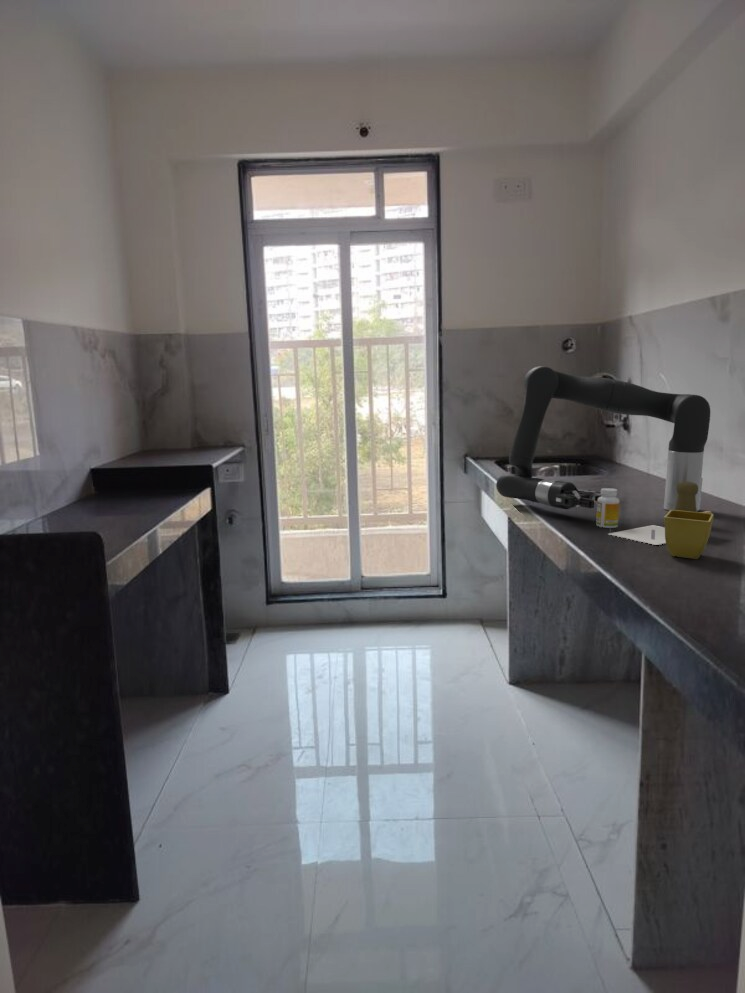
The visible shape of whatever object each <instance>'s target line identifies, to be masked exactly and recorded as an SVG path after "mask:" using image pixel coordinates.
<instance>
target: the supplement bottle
mask: <svg viewBox="0 0 745 993" xmlns="http://www.w3.org/2000/svg"><path fill="white" fill-rule="evenodd" d="M600 492H601V495H602V496H601V497H599V498H598V500H597V503H596V520H595V525H596V526H597V527H598V526H599V528H602V527H603V529H604V528H605V529H615V528H618V526H619V517H620V516H619V515H620V499H619V498H618V497H617V496H618V489H616V488H612V487H610V488H608V487H603V488H601V489H600Z"/></svg>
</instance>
